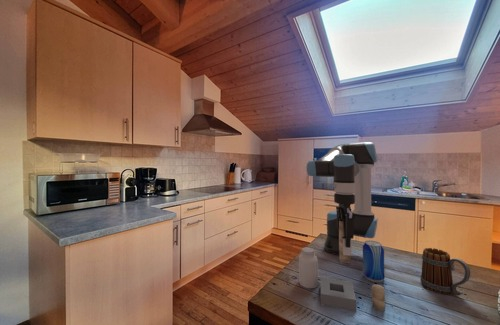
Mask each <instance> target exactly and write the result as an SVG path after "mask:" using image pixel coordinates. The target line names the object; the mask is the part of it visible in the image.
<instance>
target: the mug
mask: <svg viewBox="0 0 500 325" xmlns="http://www.w3.org/2000/svg"><path fill="white" fill-rule="evenodd" d="M421 256H422V257H421V259H422V261H421V263H422V264H421V275H420V283H421V285H422V286H423V287H424V288H426V289H427V290H429V291H431V292H433V293H434V292H435V293H437V294H440V295H451V294H454V295H456V296H462V295H463V294H464V291H462V290H457V287H460V286H461V285H464V284H466V283H467V282H469V280H470V277H471V268H470V266H469V265H468V264H467V262H466V261H464V260H463V259H460V258H457V257H454V258H451V256H450V254H449V253H448V252H447V251H444V250H443V249H438V248H434V247H433V248H432V247H428V248H427V247H425V248H423V250H422V255H421ZM455 262H456V263H458V264H460V265H461V266H462V267H463V270H464V275H463V277H462V279H461V280H460V281H458V282H455V283H454V282H453V275H452V274H453V271H455V270H457V268H456V267H455V265H454V263H455Z"/></svg>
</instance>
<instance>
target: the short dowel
mask: <svg viewBox="0 0 500 325" xmlns="http://www.w3.org/2000/svg"><path fill="white" fill-rule="evenodd" d="M385 295H386V290H385V287H383V286H382V285H380V284H372V285H371V306H372V307H373V309H375V310H377V311H381V312H383V311H385V310H386V296H385Z"/></svg>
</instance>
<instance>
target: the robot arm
mask: <svg viewBox="0 0 500 325" xmlns="http://www.w3.org/2000/svg"><path fill="white" fill-rule="evenodd" d="M377 155H378V154H377V151H376V146H375V143H374V142H370V141H369V142H368V141H366V142H365V141H364V142H351V143H349V142H348V143H346V142H345V143H343V144H341V143H340V144H338V145H336V146H334V147H332V148H330V149H329V150H328V152H327V153H326V154H325V155H323V156H322V157H320V158H319V159H318V160H315V159H313V160H310V161H309V160H308V162H307V163H306V174H307V175H308V176H310V177H315V178H316V177H321V178H322V177H323V178H326V177H327V178H333V185H332V188H333V190H334V192H335V193H334V194H333V201H334V203H335V204H338V206H336V207H335V208H336V210H333V211H329V212H328V213H327V214H326V239H325V242H324V245H323V247H324V250H325V251H326V252H328V253H330V254H334V255H339V221H343V231H344V237H342V238H343V255H349V256H352V239H354V236H355V237H360V238H364V239H374V238H375V237H376V232H377V227H378V220H379V219H378V218H377V217H375V213H374V212H373V211H372V168H373V167H375V163H378V156H377ZM352 205H354V208H353V209H352V208H351V206H352Z"/></svg>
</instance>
